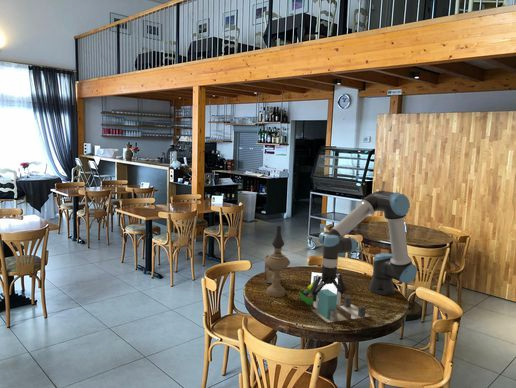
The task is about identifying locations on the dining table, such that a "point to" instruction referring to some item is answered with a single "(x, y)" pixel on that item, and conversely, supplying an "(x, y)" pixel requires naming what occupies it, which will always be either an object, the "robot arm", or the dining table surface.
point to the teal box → (326, 302)
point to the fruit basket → (307, 295)
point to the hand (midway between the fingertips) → (326, 305)
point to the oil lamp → (277, 265)
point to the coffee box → (268, 273)
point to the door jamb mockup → (344, 312)
